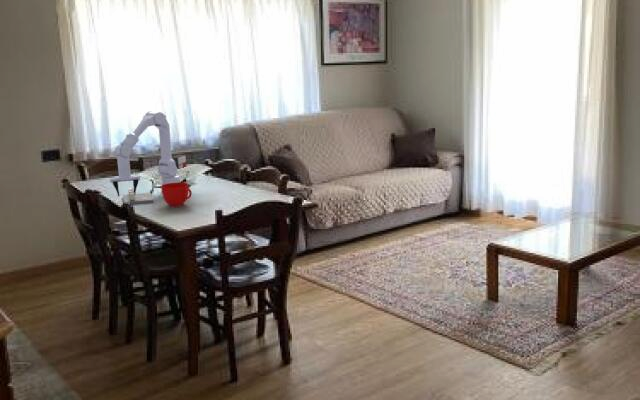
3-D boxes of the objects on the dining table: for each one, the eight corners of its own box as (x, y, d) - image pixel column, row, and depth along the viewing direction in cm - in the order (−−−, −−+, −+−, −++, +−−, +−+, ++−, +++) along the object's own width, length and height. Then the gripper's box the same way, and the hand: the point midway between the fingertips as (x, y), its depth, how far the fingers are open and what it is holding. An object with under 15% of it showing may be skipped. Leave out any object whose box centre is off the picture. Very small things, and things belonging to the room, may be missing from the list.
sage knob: (134, 198, 303) (134, 192, 303) (135, 199, 301) (134, 193, 300) (129, 199, 302) (129, 193, 302) (130, 200, 300) (129, 194, 300)
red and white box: (180, 183, 351) (178, 157, 348) (173, 182, 352) (171, 157, 348) (188, 179, 361) (186, 154, 358) (181, 179, 362) (179, 154, 359)
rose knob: (134, 196, 309) (133, 190, 308) (134, 197, 307) (133, 191, 306) (129, 196, 308) (128, 191, 307) (129, 197, 306) (128, 191, 305)
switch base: (150, 195, 320) (150, 192, 319) (153, 202, 302) (153, 199, 302) (123, 197, 315) (122, 194, 315) (124, 205, 298) (124, 202, 297)
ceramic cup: (182, 210, 285) (180, 189, 283) (157, 206, 294) (155, 186, 292) (201, 204, 296) (199, 184, 294) (176, 201, 305) (174, 181, 302)
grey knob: (133, 194, 314) (132, 188, 314) (133, 194, 312) (133, 189, 311) (128, 194, 314) (128, 188, 313) (128, 195, 311) (128, 189, 311)
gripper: (109, 171, 297) (111, 198, 300) (139, 169, 302) (142, 195, 305) (108, 169, 304) (111, 195, 307) (138, 166, 308) (141, 192, 311)
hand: (126, 195), depth 306 cm, fingers open, 7 cm apart
